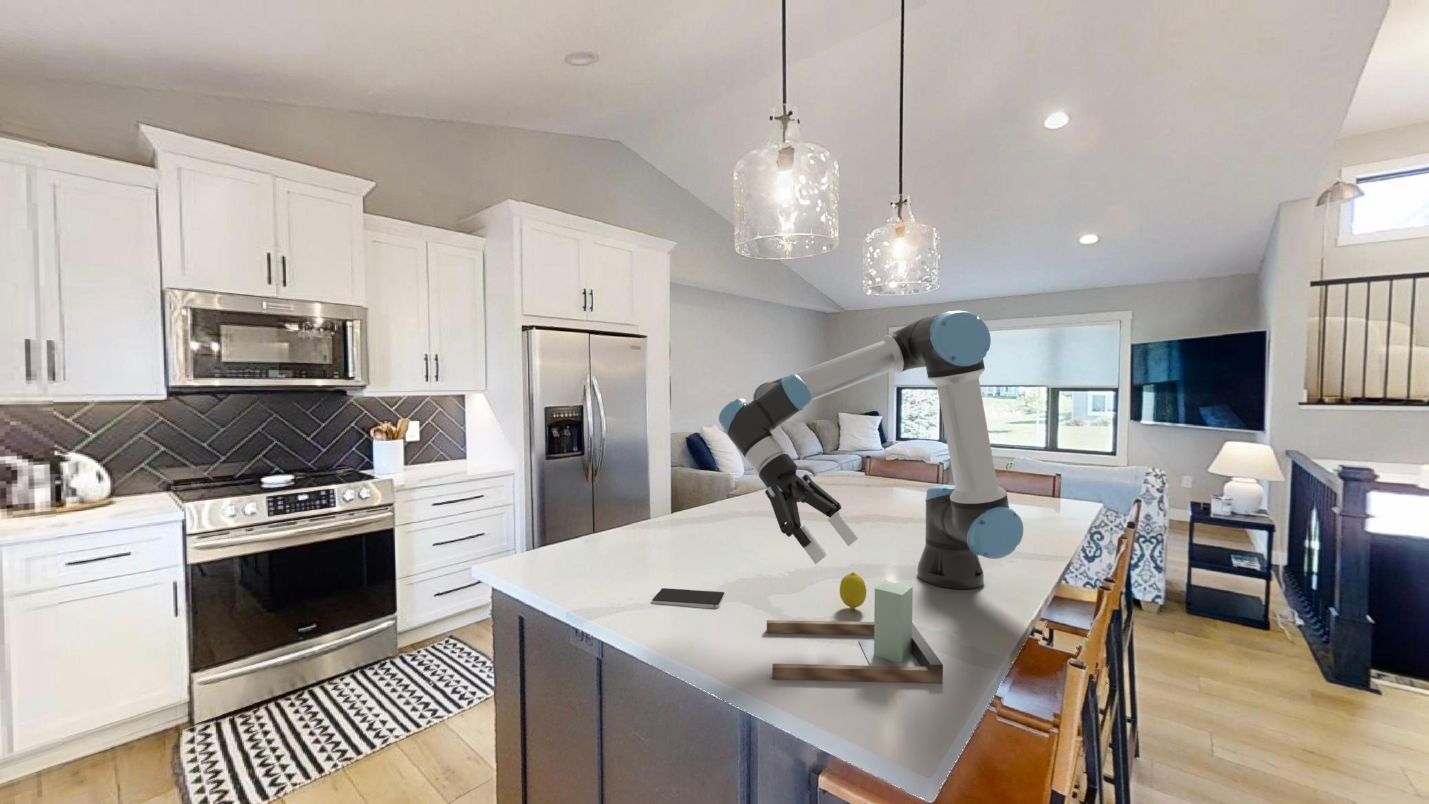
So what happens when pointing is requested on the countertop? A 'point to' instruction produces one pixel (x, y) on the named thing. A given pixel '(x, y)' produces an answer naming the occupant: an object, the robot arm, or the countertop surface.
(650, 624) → the countertop surface
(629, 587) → the countertop surface
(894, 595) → the block
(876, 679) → the track
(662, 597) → the smartphone
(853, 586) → the lemon
